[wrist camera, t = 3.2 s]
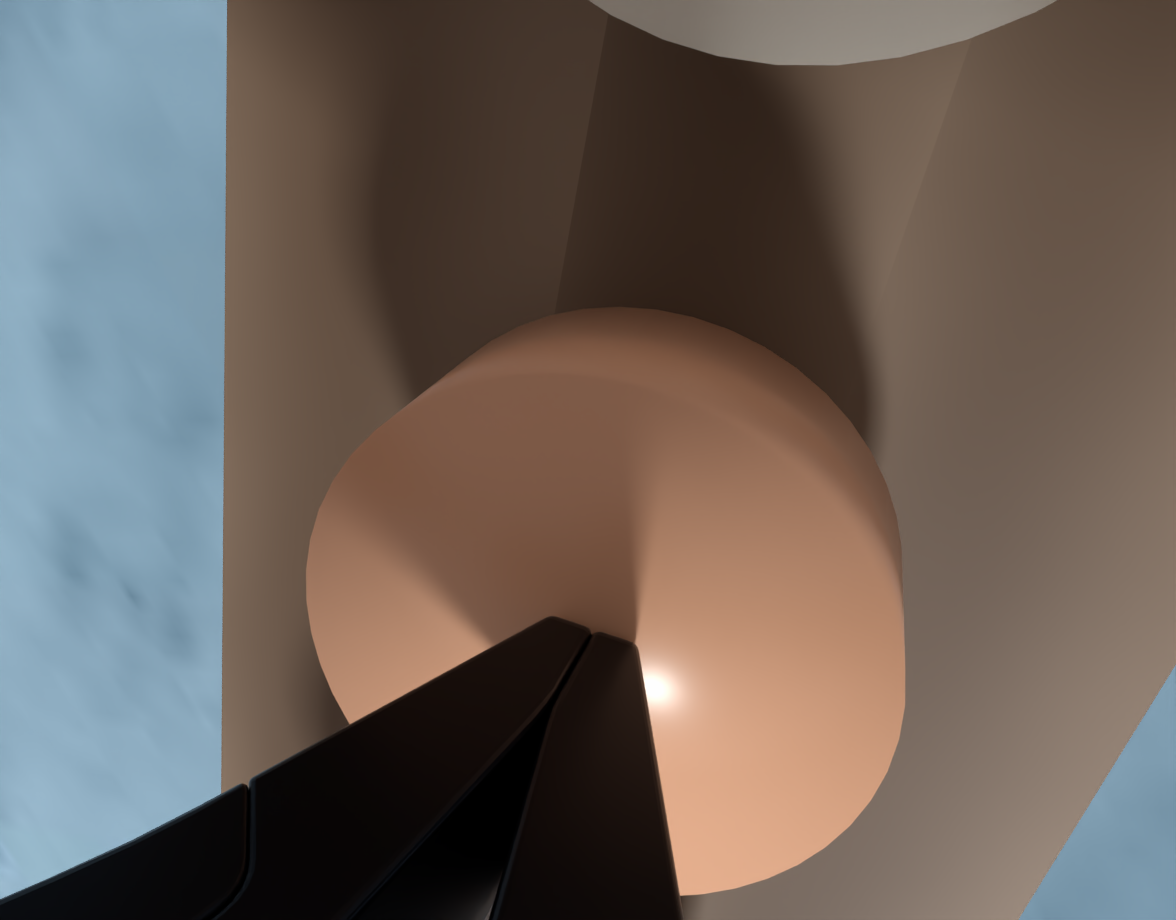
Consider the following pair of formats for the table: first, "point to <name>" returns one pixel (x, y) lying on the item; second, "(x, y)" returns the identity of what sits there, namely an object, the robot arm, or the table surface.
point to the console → (766, 316)
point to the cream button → (817, 26)
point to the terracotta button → (640, 564)
